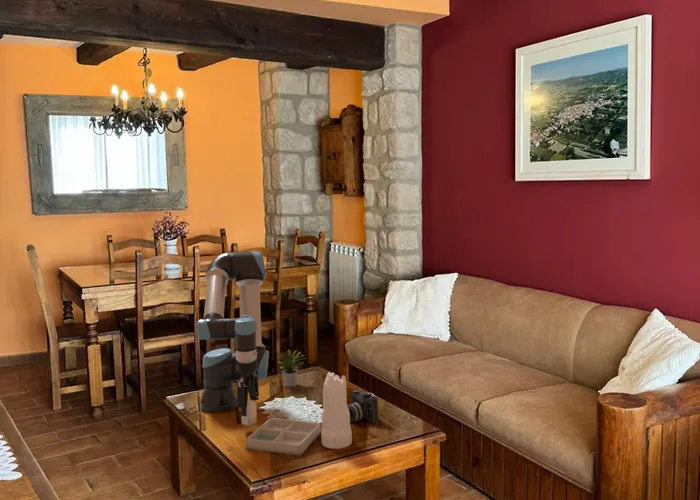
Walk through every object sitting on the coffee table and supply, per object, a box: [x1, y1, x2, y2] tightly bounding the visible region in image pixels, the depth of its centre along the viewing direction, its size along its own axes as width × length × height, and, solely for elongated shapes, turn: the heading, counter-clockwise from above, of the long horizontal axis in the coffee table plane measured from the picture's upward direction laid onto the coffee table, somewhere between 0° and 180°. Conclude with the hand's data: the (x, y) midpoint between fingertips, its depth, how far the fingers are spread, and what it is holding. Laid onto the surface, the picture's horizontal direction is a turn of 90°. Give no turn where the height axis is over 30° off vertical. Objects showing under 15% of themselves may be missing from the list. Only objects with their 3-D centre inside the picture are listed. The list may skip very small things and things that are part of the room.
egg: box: [242, 398, 258, 426], centre depth 248 cm, size 6×6×9 cm
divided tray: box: [245, 417, 322, 457], centre depth 240 cm, size 20×20×4 cm
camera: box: [347, 388, 379, 423], centre depth 258 cm, size 14×11×10 cm
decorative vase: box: [320, 371, 353, 450], centre depth 236 cm, size 11×11×25 cm
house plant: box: [276, 348, 307, 388], centre depth 298 cm, size 14×14×16 cm
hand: (249, 420), depth 249 cm, fingers closed on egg, 5 cm apart
